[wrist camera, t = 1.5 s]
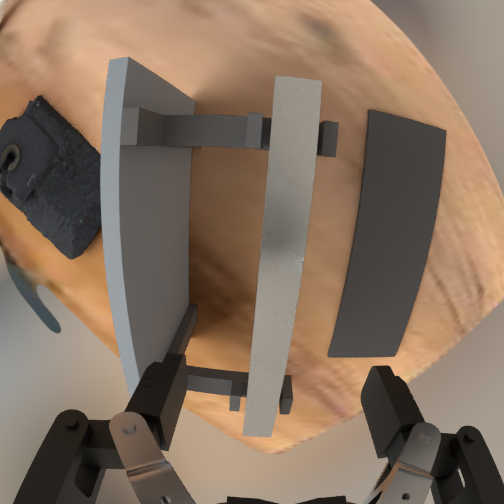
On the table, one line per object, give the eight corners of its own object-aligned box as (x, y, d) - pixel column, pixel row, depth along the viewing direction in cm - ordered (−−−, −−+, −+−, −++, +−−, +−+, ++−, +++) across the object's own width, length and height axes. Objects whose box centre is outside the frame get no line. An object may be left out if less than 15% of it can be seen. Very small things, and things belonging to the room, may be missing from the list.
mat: (368, 109, 26) (370, 109, 26) (443, 130, 26) (446, 130, 26) (327, 354, 36) (328, 357, 36) (393, 354, 36) (394, 356, 35)
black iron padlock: (79, 271, 34) (60, 286, 30) (-5, 176, 30) (-26, 181, 26) (136, 180, 30) (117, 185, 26) (36, 87, 26) (14, 84, 22)
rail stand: (184, 101, 27) (109, 60, 12) (307, 108, 27) (351, 63, 12) (181, 337, 36) (141, 433, 21) (279, 346, 36) (284, 452, 21)
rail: (273, 87, 16) (275, 75, 13) (312, 92, 16) (321, 81, 13) (244, 410, 24) (242, 435, 21) (270, 412, 24) (270, 437, 21)
